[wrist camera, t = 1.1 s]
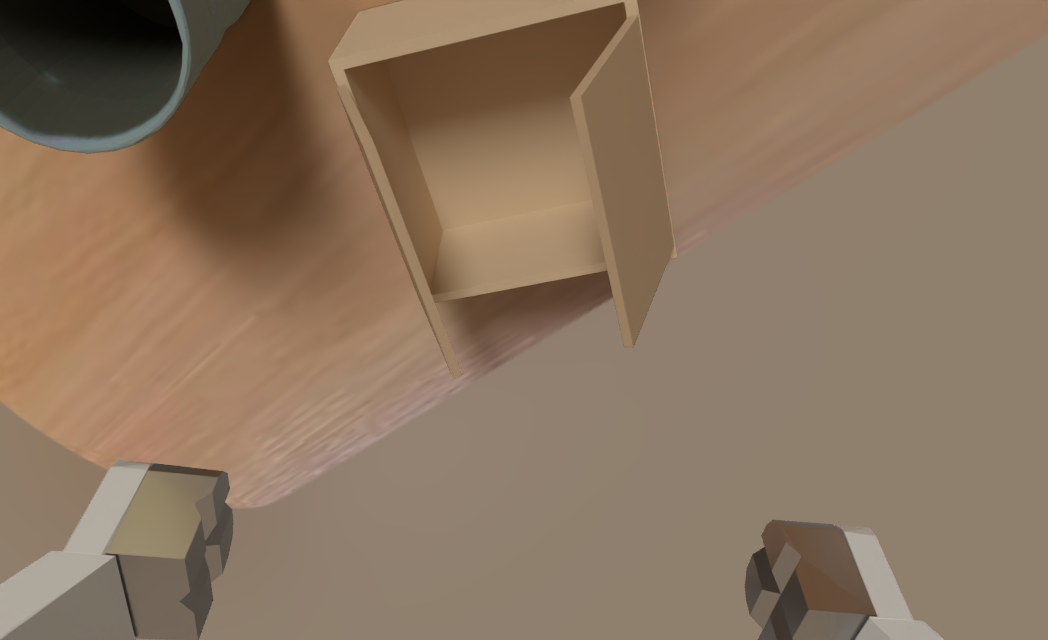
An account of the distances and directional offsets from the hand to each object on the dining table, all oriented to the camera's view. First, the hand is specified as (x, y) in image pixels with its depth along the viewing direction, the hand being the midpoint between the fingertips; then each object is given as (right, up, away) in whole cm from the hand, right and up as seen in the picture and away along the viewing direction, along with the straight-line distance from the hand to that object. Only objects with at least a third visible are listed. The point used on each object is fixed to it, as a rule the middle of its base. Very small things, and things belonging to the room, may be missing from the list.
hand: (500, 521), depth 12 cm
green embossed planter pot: (-16, +21, +26) cm, 37 cm away
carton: (0, +14, +30) cm, 33 cm away
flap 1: (-5, +7, +22) cm, 24 cm away
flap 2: (+5, +9, +21) cm, 23 cm away
